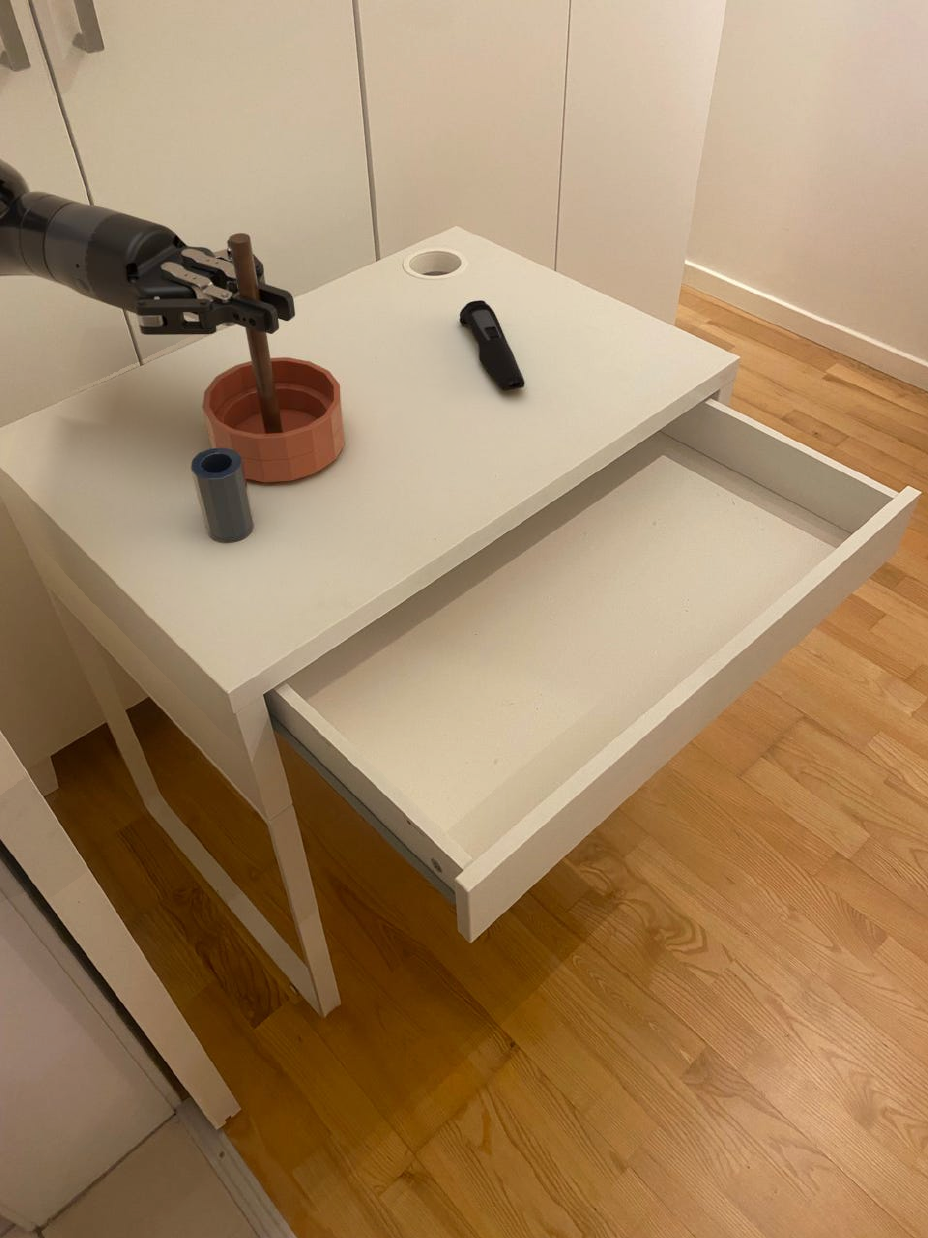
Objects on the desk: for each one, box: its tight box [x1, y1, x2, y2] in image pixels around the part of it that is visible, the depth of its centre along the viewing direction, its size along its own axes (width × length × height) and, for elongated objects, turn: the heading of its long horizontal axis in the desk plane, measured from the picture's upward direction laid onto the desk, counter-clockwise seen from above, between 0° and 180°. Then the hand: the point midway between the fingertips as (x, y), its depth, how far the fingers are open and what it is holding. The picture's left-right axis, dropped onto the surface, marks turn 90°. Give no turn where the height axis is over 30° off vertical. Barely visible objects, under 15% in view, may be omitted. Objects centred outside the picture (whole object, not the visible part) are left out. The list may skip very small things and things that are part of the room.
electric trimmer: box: [459, 299, 525, 391], centre depth 99 cm, size 4×16×3 cm, turn 14°
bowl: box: [201, 356, 346, 483], centre depth 88 cm, size 12×12×6 cm
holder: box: [190, 447, 255, 543], centre depth 80 cm, size 4×4×7 cm
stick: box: [228, 232, 283, 434], centre depth 80 cm, size 2×2×19 cm
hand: (283, 314), depth 76 cm, fingers closed on stick, 1 cm apart
